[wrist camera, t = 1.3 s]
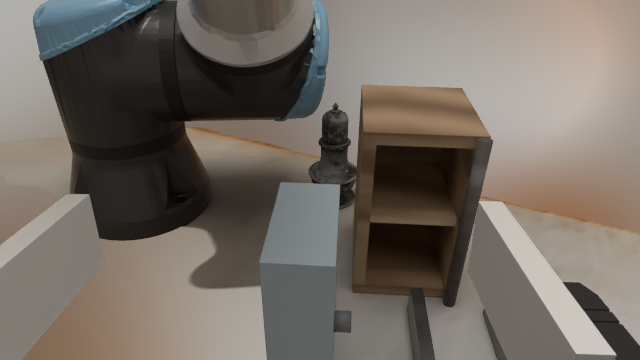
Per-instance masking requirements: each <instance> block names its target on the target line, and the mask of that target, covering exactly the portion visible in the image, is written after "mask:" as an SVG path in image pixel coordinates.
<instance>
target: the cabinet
mask: <svg viewBox="0 0 640 360" xmlns="http://www.w3.org/2000/svg"><path fill="white" fill-rule="evenodd" d="M492 144H493V140H492V139H490V135H489V133H488V132H487V130H486V128H485V127H484V125H483V123H482V122H481V120H480V118H479V116H478V115H477V113H476V111H475V109H474V108H473V106H472V104H471V103H470V101H469V99H468V98H467V96H466V94H465V93H464V91H463V89H462V88H440V87H439V88H438V87H408V86H377V85H376V86H375V85H362V90H361V107H360V123H359V140H358V157H357V172H356V189H355V205H354V222H353V292H359V293H377V294H395V295H409V294H410V288H411V287H413V288H423V294H424V296H431V297H444V299H443V303H444V304H445V305H446V306H448V307H452V306H454V305H455V300H456V296H457V292H458V288H459V283H460V279H461V275H462V271H463V267H464V262H465V258H466V254H467V250H468V246H469V241H470V237H471V233H472V229H473V224H474V220H475V216H476V212H477V208H478V203H479V199H480V195H481V191H482V186H483V182H484V178H485V173H486V170H487V165H488V161H489V157H490V152H491V148H492Z"/></svg>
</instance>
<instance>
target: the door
mask: <svg viewBox="0 0 640 360" xmlns="http://www.w3.org/2000/svg"><path fill="white" fill-rule="evenodd" d="M339 202H340V185H337V184H314V183H291V182H281V183H280V187H279V191H278V194H277V198H276V202H275V206H274V209H273V213H272V217H271V220H270V224H269V228H268V231H267V235H266V239H265V243H264V246H263V250H262V254H261V257H260V261H259V268H260V280H261V292H262V304H263V316H264V328H265V340H266V351H267V360H333V350H334V332H348V333H351V311H337V310H335V305H336V279H337V253H338V227H339Z"/></svg>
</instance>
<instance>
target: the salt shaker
mask: <svg viewBox="0 0 640 360" xmlns="http://www.w3.org/2000/svg"><path fill="white" fill-rule="evenodd" d="M332 107H333V108H334V109H332V110H330V111H328V112H326V113H325V114H324V115H323V118H322V138H320V139H319V145H320V146H321V159H320V161H318V162H316V163H314V164H313V165H312V166H311V167H310V168H309V175H310V177H311V179H312V182H313V183H314V184H337V185H340V202H339V209H341V208H345V207H347V206H349V205H351V204H352V203H353V202H354V199H355V195H354V193H353V191H352V190H351V188H352V187H353V185H354V183H355V180H356V172H357V167H356V166H355V165H354V164H352V163H350V162H348V160H347V152H348V151H347V150H348V146H349V145H350V143H351V141H350V140H349V139H348V116H347V115H346V113H345V112H343V111H341V110H338V107H339V106H338V105H337V104H336V103H335V104H334V106H332Z"/></svg>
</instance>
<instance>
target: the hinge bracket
mask: <svg viewBox="0 0 640 360" xmlns="http://www.w3.org/2000/svg"><path fill="white" fill-rule="evenodd" d="M407 310H408V318H409V326H410V333H411V341H412V349H413V356H414V360H435V356H434V350H433V344H432V339H431V333H430V327H429V322H428V316H427V311H426V305H425V299H424V294H423V288H413V287H411V288H410V294H409V300H408V307H407ZM483 314H484V318H485V321H486V324H487V327H488V330H489V333H490V337H491V340H492V343H493V346H494V349H495V352H496V356H497V359H498V360H507V359H506V356H505V354H504V352H503V350H502V347H501V345H500V343H499V341H498V338H497V336H496V334H495V332H494V329H493V327H492V325H491V323H490V320H489V318H488V316H487V314H486V311H485V309H484V310H483Z"/></svg>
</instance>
